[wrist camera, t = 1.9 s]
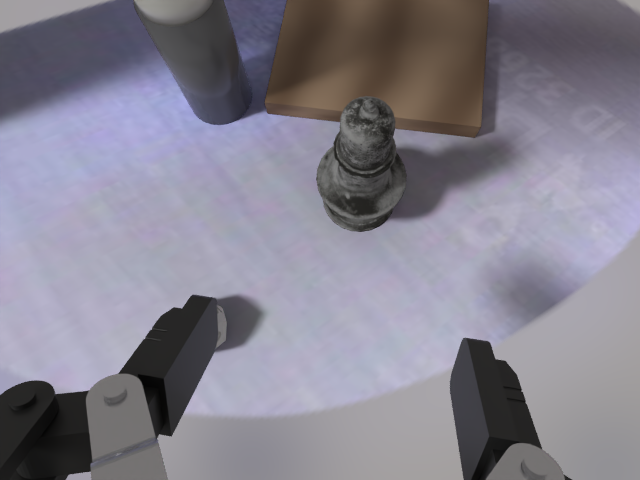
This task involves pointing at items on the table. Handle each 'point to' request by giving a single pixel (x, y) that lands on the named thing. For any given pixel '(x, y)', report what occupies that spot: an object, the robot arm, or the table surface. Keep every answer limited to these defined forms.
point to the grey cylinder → (200, 55)
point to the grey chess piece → (362, 167)
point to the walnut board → (383, 61)
